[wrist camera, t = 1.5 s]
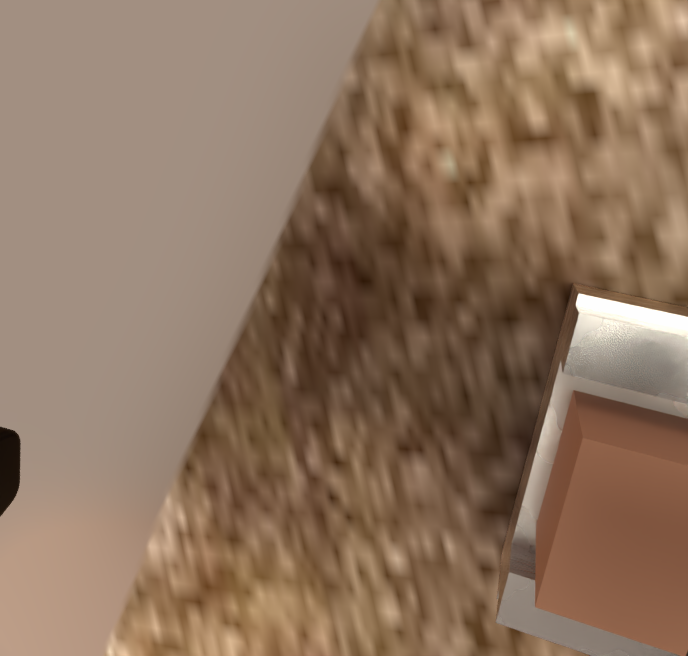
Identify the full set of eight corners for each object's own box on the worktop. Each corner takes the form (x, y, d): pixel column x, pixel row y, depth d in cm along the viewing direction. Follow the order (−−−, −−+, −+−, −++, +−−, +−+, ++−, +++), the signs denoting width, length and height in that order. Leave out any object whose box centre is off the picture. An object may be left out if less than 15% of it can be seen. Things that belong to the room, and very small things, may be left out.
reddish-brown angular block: (690, 573, 17) (734, 673, 13) (536, 526, 18) (534, 607, 14) (738, 431, 16) (799, 495, 12) (573, 389, 17) (582, 437, 13)
